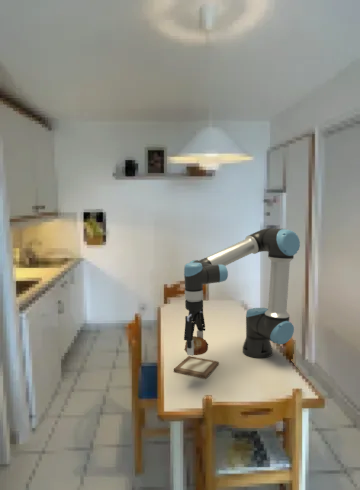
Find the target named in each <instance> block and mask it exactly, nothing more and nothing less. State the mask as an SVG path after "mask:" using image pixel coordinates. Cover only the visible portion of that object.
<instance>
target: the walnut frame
mask: <svg viewBox="0 0 360 490" xmlns="http://www.w3.org/2000/svg"><path fill="white" fill-rule="evenodd" d="M219 363H220V362H219V360H218V361H217V360H212V359H206V358H201V357H197V356H192V355H187V356H186V358H185V359H183V360H182V361H181V362H180V363H179V364H178V365H177V366H175V367H174V368H173V373H177V374H181V375H186V376H191V377H195V378H196V377H197V378H200V379H203V380H204V379H205V380H206V379H207V378H208V377H209V376H210V375H211V374H212V373H213V372H214V371H215V370H216V368H217V367H218V366H219V365H220V364H219Z"/></svg>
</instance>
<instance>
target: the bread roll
mask: <svg viewBox="0 0 360 490" xmlns="http://www.w3.org/2000/svg"><path fill="white" fill-rule="evenodd" d="M192 340H193V344H194V355H193V356H199V355H204V354H206V353H207V352H208V350H209V343H208V342H207V340H206V339H204V337H203V338H200V337H197V335H196V336H195V335H193V338H192ZM183 350H184V351H185V353H187V341H186V340H185V345H184V349H183Z"/></svg>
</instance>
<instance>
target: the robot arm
mask: <svg viewBox="0 0 360 490" xmlns="http://www.w3.org/2000/svg"><path fill="white" fill-rule="evenodd" d="M300 247H301V242H300V237H299V236H298V234H297V233H296V232H295V231H294V230H290V229H288V228H274V227H266V228H263V229H260V230H258V231H256V232H253V233H251V234H248V235H247V236H246V237H245V239H243V240H240V241H238V242H236V243H234V244H232V245H230V246H227V247H226V248H224V249H221V250H219V251H217V252H214V253H212V254H210V255H209V256H207V257H204V258H201V259H199V260H198V259H194V260H192V261H189V262H188V263H186V264H184V269H183V276H184V298H185V301H184V303H185V306H184V307H185V309H186V310H187V311H188V315H186V316H185V318H184V319H185V323H184V325H185V326H184V335H183V341H185V342H186V341H187V352H186V355H187V356H192V357H194V356H195V355H194V344H193V340H192V338H193V336H194V333H195V326H196V328H197V330H196V337H200V338H203V339H204V332H205V331H206V324H205V323H206V322H205V317H204V300H203V299H204V289H203V285H210V284H217V283H223V282H225V281H226V280H228V276H229V271H228V269H227V267H226V266H228V265H230V264H232V263H235V262H236V261H238V260H241V259H243V258H245V257H247V256H249V255H251V254H254V255H255V254H258V253H260V252H262V253H263V252H267V254H268V255H267V256H268V259H270V274H269V289H268V290H269V291H268V302H267V303H268V307H267V308H266V307H254V308H253V307H252V308H248V309H247V311H246V314H245V326H246V327H245V328H246V329H245V340H244V343H243V345H242V353H243V354H244V355H245V356H246V357H250V358H254V359H255V358H256V359H265V358H269V357H271V356H272V355H273V347H272V343H274V344H277V345H284V344H286V343H288V342H289V341H290V340H291V339H292V337H293V335H294V333H295V327H294V325H293V323H292V322H291V321H290V314H289V313H288V311H287V310H288V295H289V292H288V291H289V279H290V265H291V261H293V260H294V256H295V255H296V254H297V253H298V251H299V250H300ZM271 342H272V343H271Z"/></svg>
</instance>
